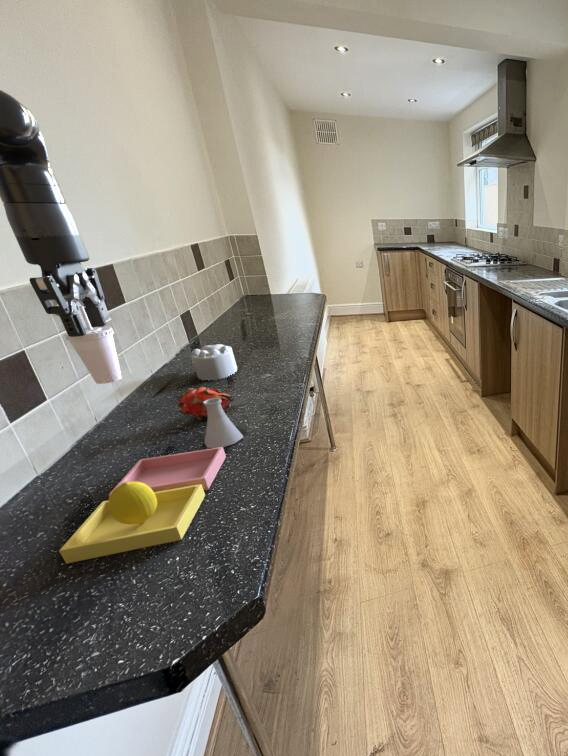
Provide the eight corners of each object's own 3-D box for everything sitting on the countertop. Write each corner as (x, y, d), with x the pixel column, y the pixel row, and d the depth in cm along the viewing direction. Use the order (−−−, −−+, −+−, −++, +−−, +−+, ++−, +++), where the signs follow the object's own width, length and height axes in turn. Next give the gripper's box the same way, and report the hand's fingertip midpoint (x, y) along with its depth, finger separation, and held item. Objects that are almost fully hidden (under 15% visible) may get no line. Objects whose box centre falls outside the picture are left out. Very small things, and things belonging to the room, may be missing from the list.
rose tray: (113, 506, 71) (108, 494, 70) (143, 470, 82) (139, 459, 81) (208, 489, 76) (204, 478, 75) (226, 456, 86) (222, 446, 85)
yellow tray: (66, 563, 60) (58, 550, 59) (108, 513, 70) (102, 501, 69) (181, 539, 64) (176, 527, 63) (205, 495, 74) (201, 483, 73)
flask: (197, 445, 90) (183, 404, 87) (230, 430, 96) (218, 391, 93) (218, 452, 87) (204, 410, 84) (250, 437, 94) (239, 397, 90)
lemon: (140, 511, 69) (123, 472, 66) (172, 512, 69) (156, 472, 66) (109, 535, 64) (89, 493, 61) (144, 535, 64) (125, 494, 61)
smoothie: (137, 372, 82) (110, 302, 76) (121, 384, 76) (91, 309, 71) (97, 376, 80) (67, 304, 74) (77, 388, 74) (43, 312, 69)
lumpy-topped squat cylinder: (238, 364, 139) (231, 340, 135) (234, 377, 128) (226, 351, 125) (201, 369, 134) (193, 344, 131) (194, 383, 124) (185, 356, 120)
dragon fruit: (181, 423, 103) (237, 422, 107) (166, 417, 95) (227, 417, 99) (185, 391, 105) (239, 391, 109) (171, 382, 97) (230, 383, 101)
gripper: (46, 232, 73) (84, 323, 79) (-17, 235, 60) (35, 344, 67) (99, 231, 75) (132, 320, 82) (49, 234, 63) (93, 339, 69)
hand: (88, 330), depth 74 cm, fingers closed on smoothie, 6 cm apart
